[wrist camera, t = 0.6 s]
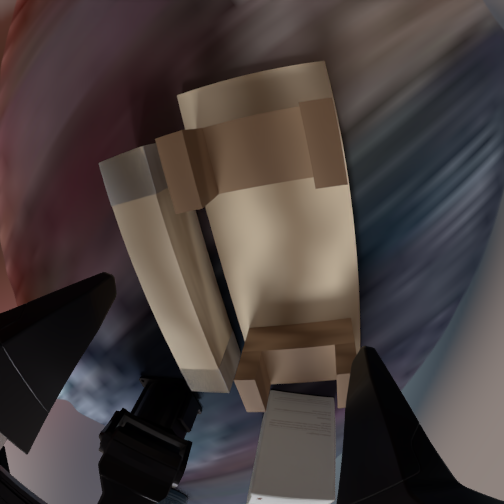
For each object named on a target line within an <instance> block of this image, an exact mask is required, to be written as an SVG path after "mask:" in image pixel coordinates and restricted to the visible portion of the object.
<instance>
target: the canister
mask: <svg viewBox="0 0 504 504" xmlns="http://www.w3.org/2000/svg"><path fill="white" fill-rule="evenodd" d="M187 500H188V498H187V497H186V496H185V495H183V494H182V493H180V492H178V491H176V490H173V489H170V491H169V493H168V495H167V497H166V498H165V499H163V500H162V501H160V502H158V503H156V504H187Z"/></svg>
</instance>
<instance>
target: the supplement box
mask: <svg viewBox="0 0 504 504" xmlns="http://www.w3.org/2000/svg"><path fill="white" fill-rule="evenodd" d="M335 454H336V441H335V406H334V398H332V397H320V396H312V395H303V394H295V393H288V392H282V391H275V390H271V391H270V394H269V398H268V403H267V408H266V412H264V416H263V420H262V425H261V430H260V436H259V442H258V447H257V452H256V457H255V462H254V467H253V472H252V477H251V482H250V487H249V492H248V498H247V503H246V504H330V503H332V502H333V501H335Z"/></svg>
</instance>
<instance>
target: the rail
mask: <svg viewBox="0 0 504 504" xmlns="http://www.w3.org/2000/svg"><path fill="white" fill-rule="evenodd" d="M99 166H100V170H101V173H102V177H103V180H104V184H105V187H106V190H107V194H108V197H109V200H110V203H111V206H112V208H113V211H114V214H115V217H116V220H117V223H118V226H119V228H120V231H121V234H122V237H123V240H124V243H125V245H126V248H127V251H128V253H129V256H130V259H131V261H132V264H133V266H134V269H135V271H136V274H137V276H138V279H139V281H140V284H141V286H142V289H143V291H144V293H145V296H146V298H147V300H148V303H149V305H150V307H151V310H152V312H153V314H154V316H155V318H156V321H157V323H158V325H159V327H160V329H161V331H162V334H163V336H164V338H165V340H166V342H167V344H168V346H169V348H170V350H171V352H172V354H173V356H174V358H175V360H176V362H177V364H178V366H179V369H180V371H181V373H182V374H183V376H184V378H185V380H186V382H187V384H188V386H189V387H190V389H191V391H198V392H220V393H229V392H230V389H231V386H232V382H233V379H234V376H235V372H236V369H237V365H238V362H239V359H240V355H241V353H240V350H239V347H238V344H237V341H236V338H235V335H234V332H233V330H232V327H231V324H230V321H229V318H228V315H227V312H226V309H225V306H224V303H223V300H222V296H221V293H220V290H219V287H218V284H217V281H216V277H215V274H214V271H213V268H212V264H211V261H210V258H209V254H208V251H207V248H206V244H205V241H204V237H203V234H202V231H201V227H200V224H199V220H198V217H197V213H196V210H193V211H188V212H184V213H179V214H176V213H175V210H174V206H173V203H172V200H171V196H170V193H169V189H168V186H167V182H166V178H165V175H164V171H163V168H162V164H161V160H160V156H159V153H158V149H157V145H156V143H154V144H149V145H144V146H141V147H138V148H136V149H133V150H130V151H128V152H125V153H122V154H120V155H117V156H115V157H112V158H110V159H107V160H105V161H102V162H100V163H99Z"/></svg>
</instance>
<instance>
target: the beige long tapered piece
mask: <svg viewBox="0 0 504 504" xmlns="http://www.w3.org/2000/svg"><path fill="white" fill-rule="evenodd" d="M177 98H178V102H179V107H180V111H181V115H182V119H183V123H184V127H185V130H180V131H177V132H174V133H171V134H168V135H165V136H162V137H159V138H156V139H155V141H156V145H157V149H158V153H159V156H160V160H161V164H162V168H163V171H164V175H165V178H166V182H167V186H168V189H169V193H170V196H171V200H172V203H173V206H174V210H175V213H176V214H179V213H184V212H188V211H193V210H198V209H203V208H204V207H205V208H206V211H207V215H208V219H209V222H210V226H211V229H212V233H213V237H214V240H215V244H216V247H217V251H218V254H219V258H220V261H221V264H222V268H223V271H224V275H225V278H226V281H227V285H228V288H229V292H230V295H231V298H232V302H233V305H234V308H235V311H236V315H237V318H238V321H239V324H240V328H241V331H242V334H243V337H244V340H245V344H244V347H243V351H242V354H241V358H240V361H239V365H238V368H237V371H236V375H235V378H234V382H235V384H236V386H237V389H238V391H239V394H240V396H241V399H242V401H243V403H244V406H245V408H246V410H247V412H266V408H267V403H268V397H269V391H270V386H271V384H286V383H303V382H316V381H328V380H337V399H338V408H345V407H346V398H347V392H348V385H349V378H350V371H351V365H352V362H353V360H354V358H355V357H356V355H357V353H358V352H359V350H360V303H359V281H358V265H357V252H356V240H355V230H354V220H353V211H352V203H351V195H350V187H349V180H348V173H347V167H346V160H345V154H344V148H343V143H342V137H341V132H340V127H339V122H338V117H337V112H336V107H335V102H334V98H333V93H332V89H331V85H330V81H329V76H328V72H327V69H326V65H325V61H318V62H311V63H304V64H298V65H292V66H286V67H281V68H276V69H271V70H266V71H261V72H257V73H252V74H248V75H244V76H240V77H236V78H232V79H228V80H225V81H221V82H218V83H214V84H211V85H207V86H204V87H201V88H198V89H195V90H191V91H188V92H185V93H182V94H180V95H177Z"/></svg>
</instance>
